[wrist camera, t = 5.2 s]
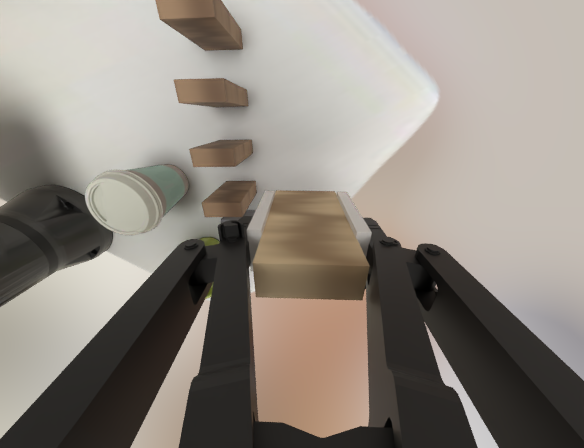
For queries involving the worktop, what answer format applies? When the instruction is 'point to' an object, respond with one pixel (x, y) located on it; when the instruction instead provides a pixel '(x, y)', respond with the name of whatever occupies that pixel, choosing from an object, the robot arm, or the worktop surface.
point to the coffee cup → (135, 197)
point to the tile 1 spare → (309, 250)
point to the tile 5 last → (230, 199)
